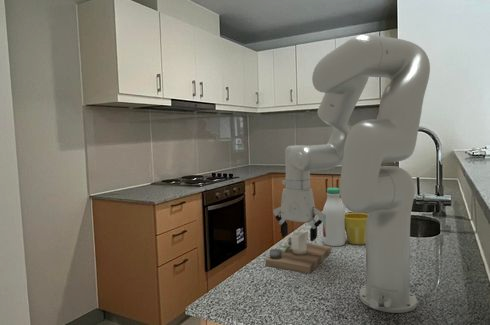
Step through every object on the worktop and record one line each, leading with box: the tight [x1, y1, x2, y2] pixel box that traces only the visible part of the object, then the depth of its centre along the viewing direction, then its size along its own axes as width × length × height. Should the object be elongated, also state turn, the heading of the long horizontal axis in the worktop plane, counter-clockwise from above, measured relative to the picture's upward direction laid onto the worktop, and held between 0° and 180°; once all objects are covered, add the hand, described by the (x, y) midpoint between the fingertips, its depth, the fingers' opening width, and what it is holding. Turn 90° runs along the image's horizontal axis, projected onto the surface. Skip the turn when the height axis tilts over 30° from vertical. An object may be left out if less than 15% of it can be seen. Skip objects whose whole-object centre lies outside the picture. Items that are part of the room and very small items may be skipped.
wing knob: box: [290, 230, 309, 255], centre depth 113 cm, size 9×4×6 cm, turn 149°
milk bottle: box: [322, 187, 346, 247], centre depth 126 cm, size 8×8×20 cm
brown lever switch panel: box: [265, 237, 332, 274], centre depth 112 cm, size 20×14×4 cm
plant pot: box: [345, 212, 369, 246], centre depth 127 cm, size 10×10×10 cm
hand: (298, 237), depth 112 cm, fingers open, 9 cm apart
